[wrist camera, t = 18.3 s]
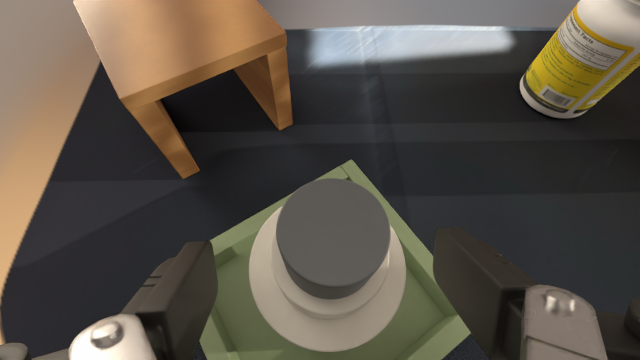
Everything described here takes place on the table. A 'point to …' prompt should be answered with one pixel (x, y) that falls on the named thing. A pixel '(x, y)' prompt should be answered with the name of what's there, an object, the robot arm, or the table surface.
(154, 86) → the wooden stand
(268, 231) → the white bottle
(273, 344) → the sage green tray
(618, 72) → the pill bottle
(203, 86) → the table surface
